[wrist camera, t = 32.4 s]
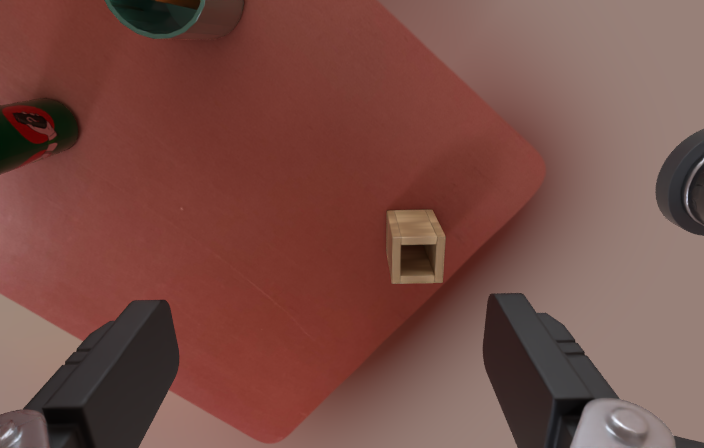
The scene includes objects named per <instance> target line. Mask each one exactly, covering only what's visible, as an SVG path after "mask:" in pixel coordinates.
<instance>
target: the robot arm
mask: <svg viewBox="0 0 704 448" xmlns="http://www.w3.org/2000/svg"><path fill="white" fill-rule="evenodd" d="M681 203H682V207H683V209H684V211H685V213H686V214H687V215H688V216H689V217H690V218H691V219H692V220H694V221H696V222H697V223H699V224H701V225H703V226H704V154H703V155H702V156H701V157H700V158H699V159H698V160H697V161H696V162H695V163H694V164H693V165H692V166H691V168H690V169H689V171H688V172H687V174H686V176H685V178H684V181H683V184H682V188H681ZM483 359H484V365H485V369H486V372H487V374H488V377H489V379H490V382H491V384H492V386H493V389H494V391H495V393H496V396H497V398H498V401H499V403H500V405H501V408H502V411H503V413H504V415H505V418H506V420H507V423H508V425H509V427H510V430H511V432H512V435H513V437H514V439H515V442H516V444H517V447H518V448H704V443H702V442H698V441H694V440H689V439H685V438H681V437H677V436H673V435H672V433H671V431H670V430H669V428H668V427H667V426H666V425H665V424H664V423H663V422H662V421H661V420H660V419H659V418H658V417H657V416H655V415H654V414H653V413H651V412H650V411H648V410H646V409H644V408H643V407H640V406H638V405H636V404H634V403H631V402H628V401H625V400H621V399H619V397H618V396H617V395H616V393H615V392H614V391H613V389H612V388H611V387H610V385H609V384H608V383H607V381H606V380H605V379H604V378H603V376H602V375H601V373H600V372H599V371H598V370H597V368H596V367H595V366H594V364H593V363H592V362H591V360H590V359H589V358H588V356H585V354H584V351H583V350H582V348H581V347H580V346H579V344H578V343H575V339H574V338H573V337H572V335H571V334H570V333H569V331H568V330H567V329H566V327H565V326H564V325H563V324H561V323H560V322H558V321H557V320H556V319H554V318H553V317H551V316H550V315H548V314H547V313H536V312H535V310H534V309H533V307H532V306H531V304H530V303H529V302H528V300H527V299H526V297H525V296H524V295H523V294H522V293H507V294H506V293H501V294H490V296H489V298H488V304H487V312H486V321H485V331H484V340H483ZM178 366H179V349H178V344H177V339H176V334H175V329H174V325H173V320H172V315H171V310H170V306H169V304H168V302H167V301H166V300H135V301H132V302H131V303H130V304H129V305H128V306H127V307H126V309H125V310H124V311H123V312H122V313H121V314H120V316H119V317H118V318H117V319H116V320H115V321H109V322H108V323H106V324H105V325H103V326H102V327H100V328H99V329H97V330H96V331H94V332H92V333H91V334H90V335H89V336H88V337H87V338H86V339H85V340H84V341H83V342H82V344H81V345H80V346H79V347H78V348H77V351H76V352H74V353H73V354H72V355H71V356H70V357H69V358H68V359H67V360H66V361H65V365H62V366H61V367H60V368H59V369H58V370H57V372H56V373H55V374H54V375H53V376H52V377H51V378H50V379H49V381H48V382H47V383H46V384H45V385H44V386H43V387H42V388H41V389H40V391H39V392H38V393H37V394H36V395H35V396H34V398H32V400H31V401H30V402H29V403H28V404H27V405H26V406H25V407H24V408H23V410H16V411H11V412H7V413H4V414H1V415H0V448H138V447H139V445H140V444H141V441H142V440H143V438H144V436H145V434H146V432H147V430H148V428H149V426H150V424H151V423H152V421H153V419H154V417H155V415H156V413H157V411H158V409H159V407H160V405H161V403H162V401H163V400H164V398H165V396H166V394H167V392H168V390H169V388H170V386H171V384H172V382H173V381H174V379H175V377H176V374H177V371H178Z"/></svg>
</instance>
